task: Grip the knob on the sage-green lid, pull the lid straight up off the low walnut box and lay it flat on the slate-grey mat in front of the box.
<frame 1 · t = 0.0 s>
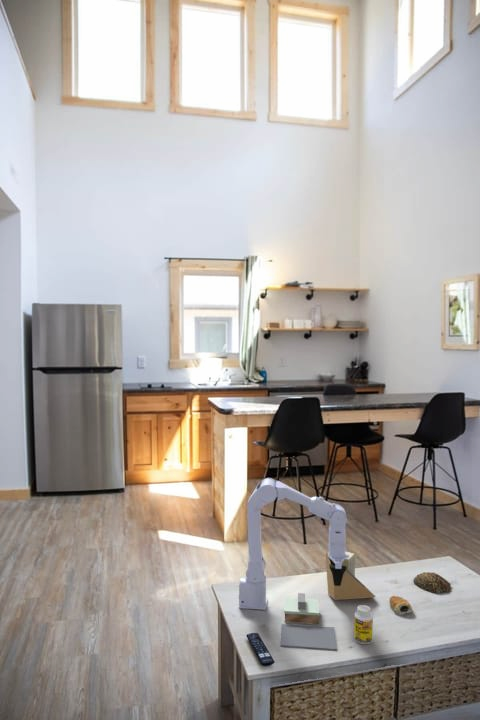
hand: (336, 580, 184), 10 cm above the table, tool pointing down, fingers open, 7 cm apart
slate mat: (308, 637, 167), on the table
pastry: (399, 609, 185), on the table
lid: (301, 608, 179), point 2 cm above the table, touching walnut box
supplement bottle: (363, 640, 166), on the table
skincare box: (346, 587, 201), on the table
walnut box: (301, 615, 180), on the table
sandwich container: (351, 596, 192), point 1 cm above the table, touching gripper
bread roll: (433, 586, 202), on the table
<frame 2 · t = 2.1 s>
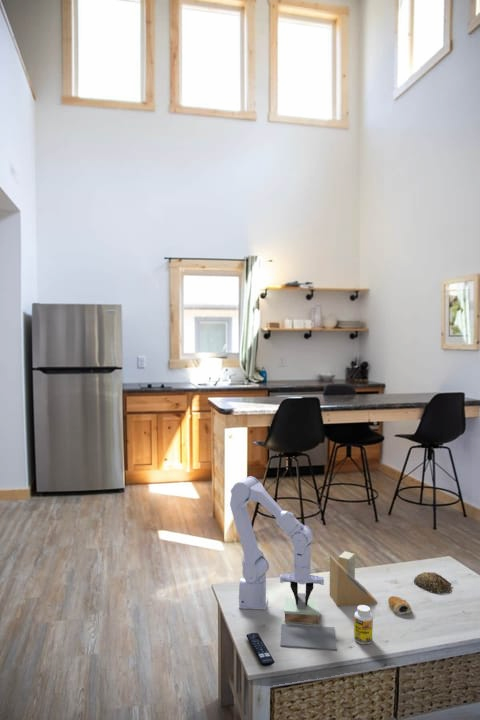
hand: (301, 603, 179), 4 cm above the table, tool pointing down, fingers closed on lid, 2 cm apart
lid: (301, 608, 179), point 2 cm above the table, touching gripper, walnut box
sandwich container: (353, 599, 191), on the table
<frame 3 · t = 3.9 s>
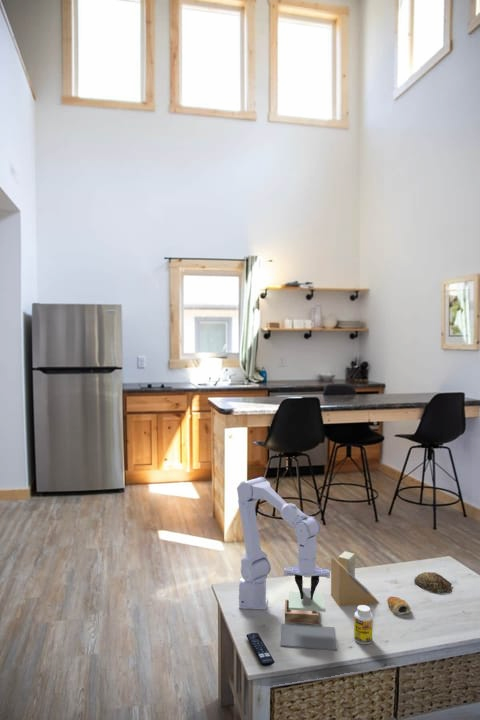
hand: (306, 598, 170), 11 cm above the table, tool pointing down, fingers closed on lid, 2 cm apart
lid: (306, 604, 171), point 8 cm above the table, touching gripper
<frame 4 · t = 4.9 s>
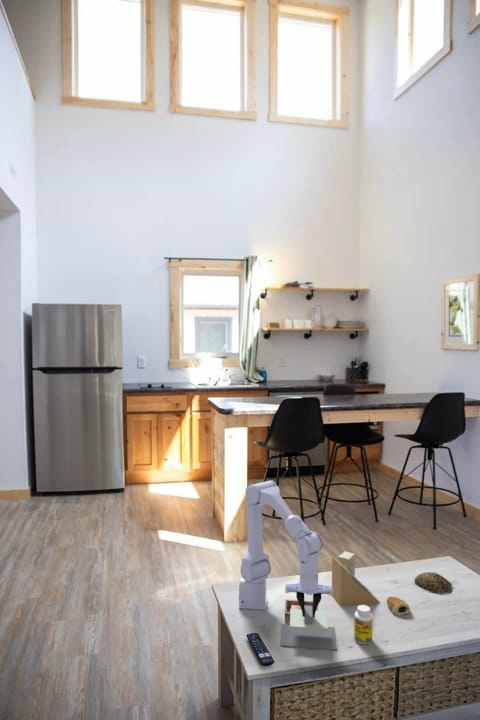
hand: (308, 615, 167), 7 cm above the table, tool pointing down, fingers closed on lid, 2 cm apart
lid: (308, 622, 167), point 5 cm above the table, touching gripper
when the fingers open (4 cm above the table, at t = 5.7 s): lid stays where it is, resting on slate mat.
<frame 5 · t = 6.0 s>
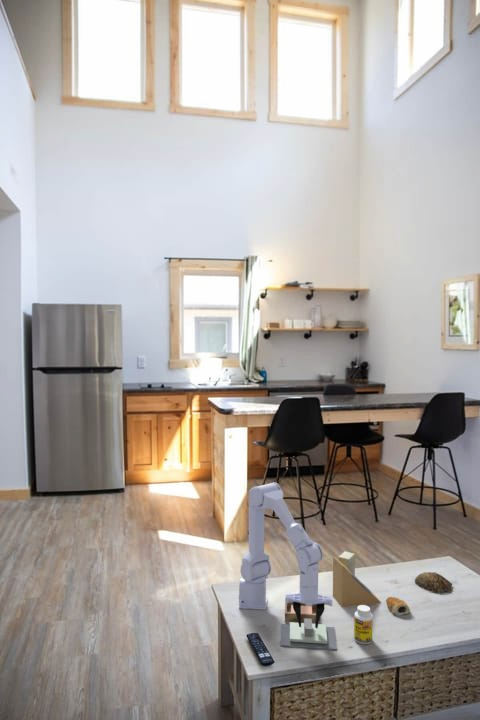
hand: (308, 625, 167), 4 cm above the table, tool pointing down, fingers open, 4 cm apart
lid: (308, 635, 167), resting on slate mat
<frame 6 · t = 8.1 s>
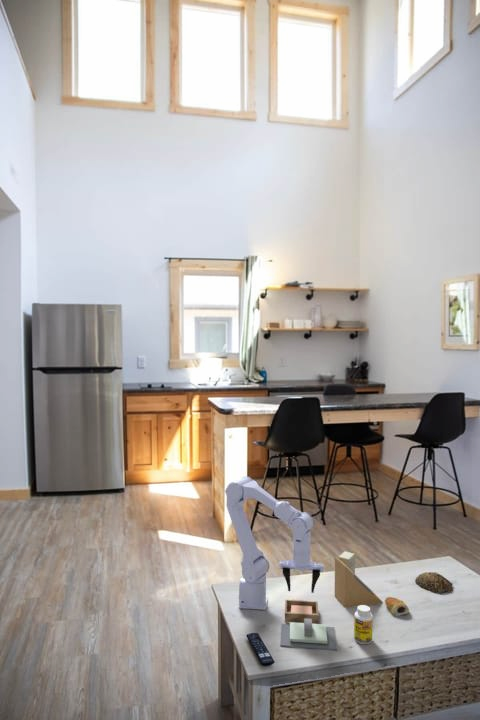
hand: (300, 590, 178), 9 cm above the table, tool pointing down, fingers open, 7 cm apart
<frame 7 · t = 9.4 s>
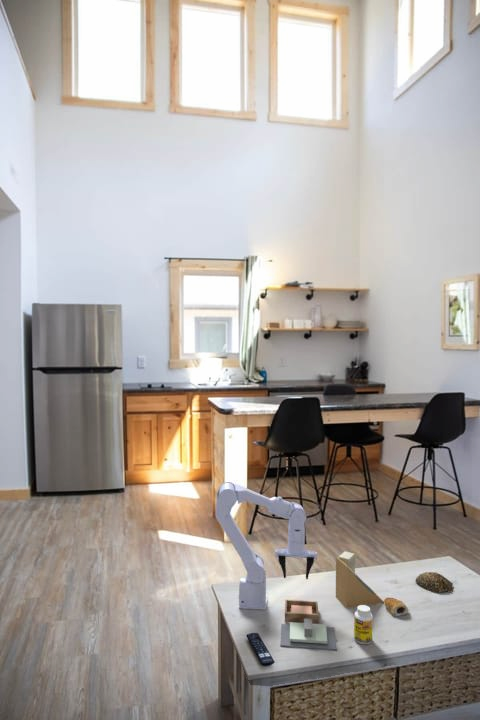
hand: (295, 577, 187), 9 cm above the table, tool pointing down, fingers open, 7 cm apart
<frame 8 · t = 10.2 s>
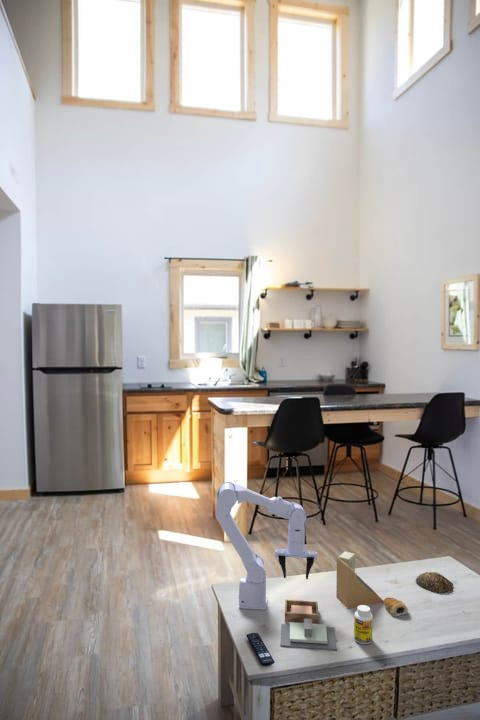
hand: (295, 577, 187), 9 cm above the table, tool pointing down, fingers open, 7 cm apart
at the end: lid inside the target area on the slate mat (0.2 cm from its centre), point 0.4 cm above the slate mat's base; lid tilted 0°; the gripper is holding nothing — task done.
